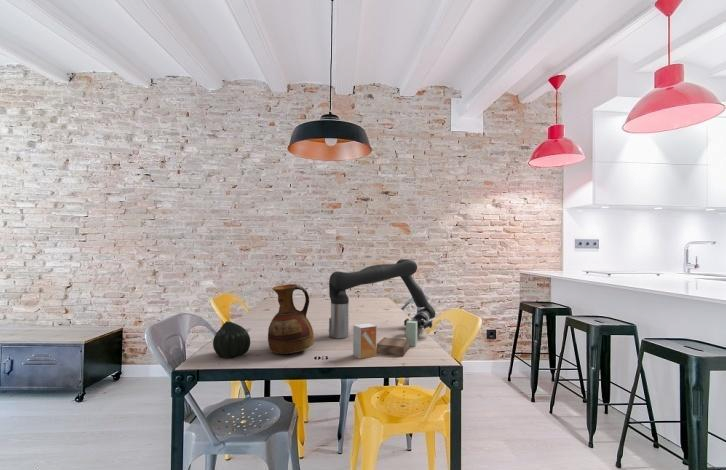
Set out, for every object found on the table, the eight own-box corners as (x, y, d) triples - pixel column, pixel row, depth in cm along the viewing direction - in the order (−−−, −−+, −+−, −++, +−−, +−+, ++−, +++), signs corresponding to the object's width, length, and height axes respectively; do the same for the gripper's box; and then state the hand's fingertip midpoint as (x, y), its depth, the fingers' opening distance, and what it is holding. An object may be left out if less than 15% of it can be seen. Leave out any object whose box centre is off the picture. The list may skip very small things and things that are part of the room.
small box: (360, 359, 153) (360, 328, 154) (352, 355, 159) (352, 325, 159) (376, 356, 158) (376, 325, 158) (368, 352, 163) (368, 322, 163)
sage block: (406, 345, 173) (406, 322, 174) (408, 343, 178) (408, 320, 178) (415, 346, 172) (415, 323, 172) (417, 344, 176) (417, 321, 176)
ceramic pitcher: (264, 347, 169) (265, 282, 170) (307, 342, 177) (308, 280, 178) (271, 360, 151) (272, 287, 152) (319, 354, 159) (319, 285, 160)
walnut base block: (376, 353, 162) (376, 344, 162) (384, 345, 173) (384, 337, 173) (403, 356, 158) (403, 346, 158) (409, 348, 169) (409, 339, 169)
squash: (254, 345, 153) (248, 314, 161) (216, 352, 145) (212, 319, 154) (249, 361, 162) (243, 330, 171) (213, 368, 155) (209, 336, 163)
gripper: (408, 311, 203) (402, 317, 188) (434, 313, 198) (430, 319, 183) (408, 325, 203) (402, 332, 188) (434, 327, 198) (430, 334, 183)
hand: (415, 326), depth 185 cm, fingers open, 8 cm apart
